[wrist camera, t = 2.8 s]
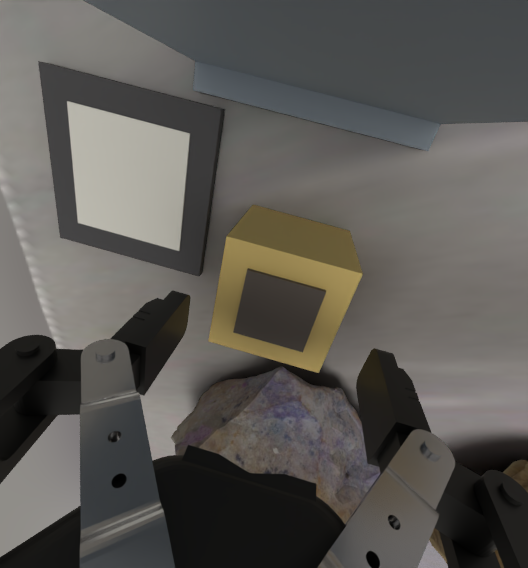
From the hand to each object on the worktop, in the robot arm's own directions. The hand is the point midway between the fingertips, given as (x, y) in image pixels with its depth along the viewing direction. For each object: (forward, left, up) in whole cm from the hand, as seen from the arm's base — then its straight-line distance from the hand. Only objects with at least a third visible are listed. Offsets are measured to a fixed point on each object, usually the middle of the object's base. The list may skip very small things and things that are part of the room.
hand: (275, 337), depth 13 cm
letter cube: (0, 0, -8) cm, 8 cm away
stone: (+14, +4, -8) cm, 16 cm away
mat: (-3, -11, -8) cm, 13 cm away
